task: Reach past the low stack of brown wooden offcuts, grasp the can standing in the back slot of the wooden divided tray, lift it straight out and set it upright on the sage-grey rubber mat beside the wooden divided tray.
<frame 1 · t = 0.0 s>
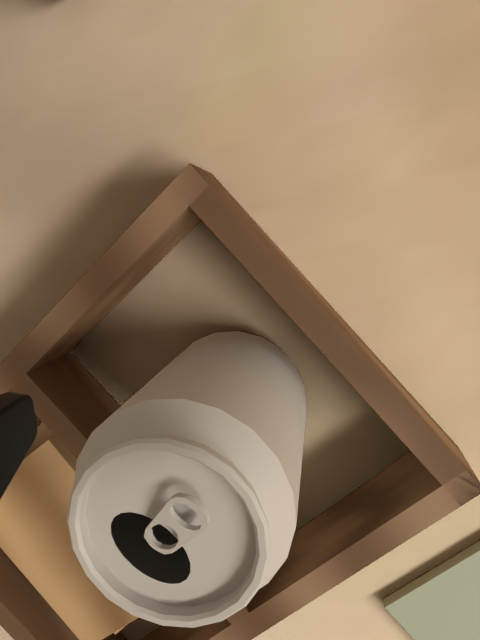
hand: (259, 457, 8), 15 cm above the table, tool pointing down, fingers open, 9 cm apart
offcut top: (82, 531, 26), point 2 cm above the table, touching offcut middle
offcut middle: (94, 515, 28), resting on offcut bottom, touching offcut top
can: (238, 393, 25), resting in wooden divided tray
wooden divided tray: (158, 461, 26), on the table
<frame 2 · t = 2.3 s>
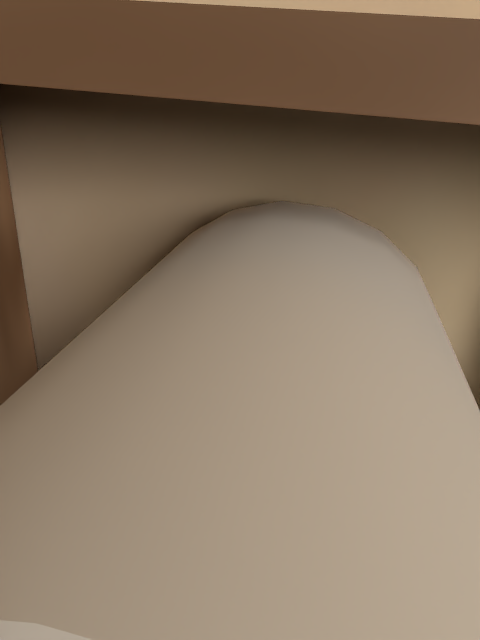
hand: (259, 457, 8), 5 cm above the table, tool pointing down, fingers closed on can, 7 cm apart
can: (289, 328, 13), resting in wooden divided tray, touching gripper
wooden divided tray: (266, 494, 16), on the table
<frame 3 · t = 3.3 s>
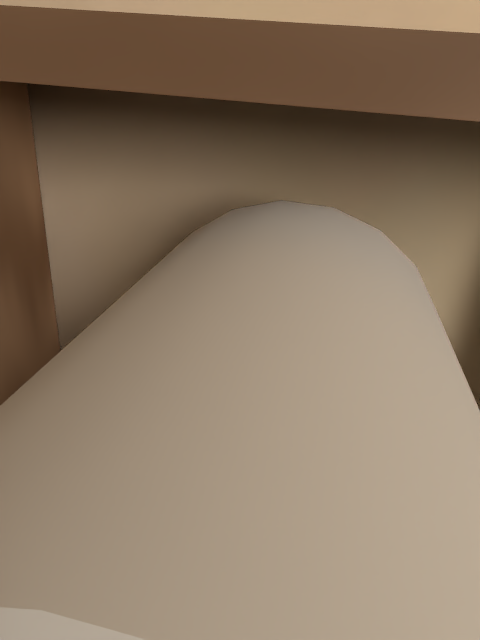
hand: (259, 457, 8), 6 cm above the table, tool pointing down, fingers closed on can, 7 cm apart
can: (289, 327, 13), point 1 cm above the table, touching gripper
wooden divided tray: (271, 464, 17), on the table
when the fingers open (7 cm above the table, at t = 7.3 s): can stays where it is, resting on mat.
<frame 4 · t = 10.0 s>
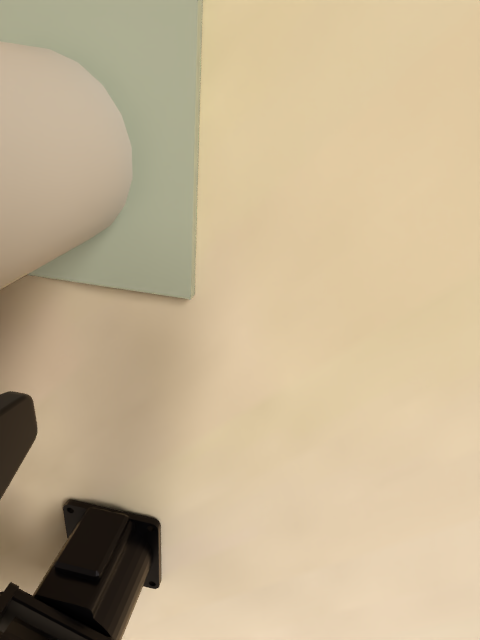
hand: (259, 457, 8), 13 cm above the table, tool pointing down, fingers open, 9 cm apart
can: (60, 150, 20), resting on mat
mat: (65, 148, 20), on the table
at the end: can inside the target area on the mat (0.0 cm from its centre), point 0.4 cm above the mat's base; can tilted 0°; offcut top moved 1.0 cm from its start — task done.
